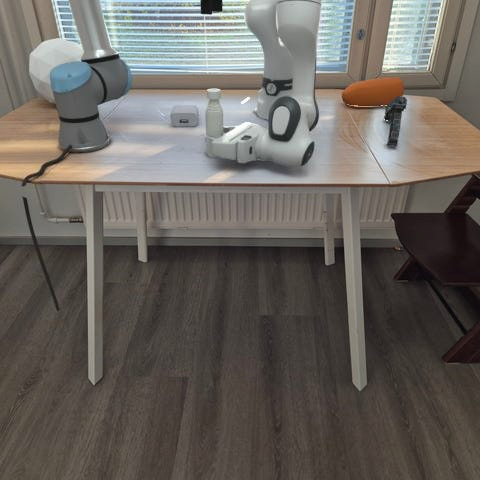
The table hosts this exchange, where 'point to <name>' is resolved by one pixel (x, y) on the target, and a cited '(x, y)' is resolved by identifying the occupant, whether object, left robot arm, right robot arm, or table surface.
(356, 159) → the table surface
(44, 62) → the decorative sphere
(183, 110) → the charger
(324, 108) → the table surface
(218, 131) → the bottle
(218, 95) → the cap
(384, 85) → the clog
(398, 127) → the futuristic handgun
